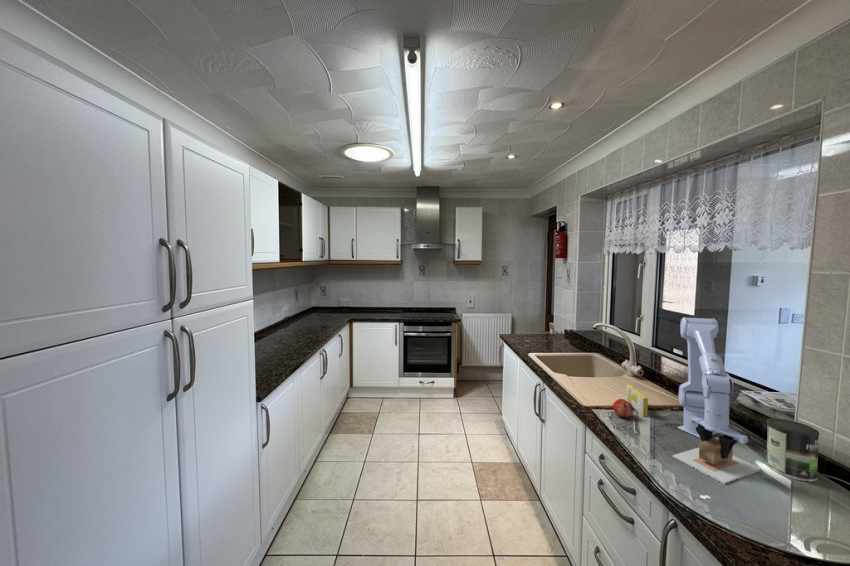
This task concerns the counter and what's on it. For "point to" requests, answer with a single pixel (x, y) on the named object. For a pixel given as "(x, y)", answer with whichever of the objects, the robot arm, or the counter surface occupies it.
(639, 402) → the candy box
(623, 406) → the pomegranate
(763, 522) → the counter surface
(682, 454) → the mat
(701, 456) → the walnut block
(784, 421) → the coffee can
